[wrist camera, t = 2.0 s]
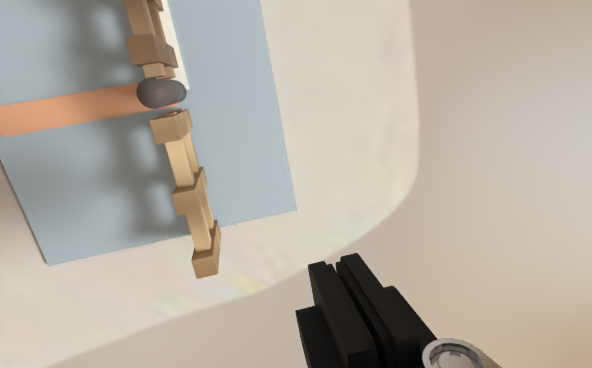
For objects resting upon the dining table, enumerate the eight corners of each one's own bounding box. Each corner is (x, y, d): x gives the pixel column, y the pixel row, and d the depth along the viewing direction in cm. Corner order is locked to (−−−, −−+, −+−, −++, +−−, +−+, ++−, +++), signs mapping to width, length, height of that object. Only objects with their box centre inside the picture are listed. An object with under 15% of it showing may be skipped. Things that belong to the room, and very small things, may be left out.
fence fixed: (117, -82, 19) (56, -170, 13) (142, -84, 19) (95, -173, 13) (168, 103, 22) (141, 111, 16) (189, 100, 23) (171, 106, 16)
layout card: (-95, -63, 18) (-103, -67, 17) (241, -99, 20) (241, -104, 20) (51, 263, 24) (47, 266, 23) (296, 208, 26) (297, 210, 26)
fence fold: (169, 110, 22) (148, 118, 16) (187, 107, 22) (173, 114, 17) (204, 237, 24) (196, 278, 19) (221, 234, 25) (217, 273, 19)
